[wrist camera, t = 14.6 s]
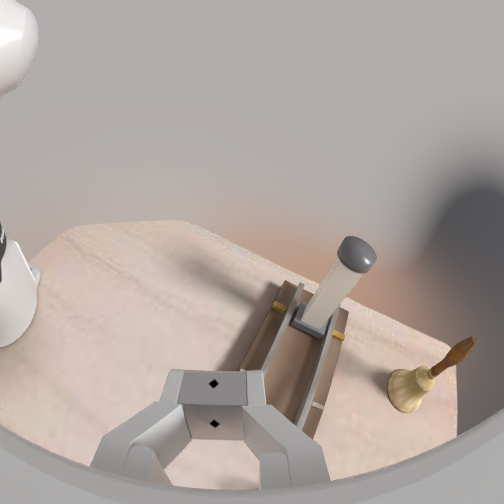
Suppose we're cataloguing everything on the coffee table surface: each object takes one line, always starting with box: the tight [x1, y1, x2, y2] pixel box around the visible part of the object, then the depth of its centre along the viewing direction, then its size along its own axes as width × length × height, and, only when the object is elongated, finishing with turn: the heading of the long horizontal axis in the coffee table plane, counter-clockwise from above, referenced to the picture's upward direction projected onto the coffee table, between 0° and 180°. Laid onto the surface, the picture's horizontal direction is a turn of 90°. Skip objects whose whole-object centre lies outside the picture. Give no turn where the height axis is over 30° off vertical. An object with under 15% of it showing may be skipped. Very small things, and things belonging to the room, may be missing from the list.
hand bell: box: [387, 336, 477, 413], centre depth 30 cm, size 8×8×16 cm
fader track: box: [238, 280, 349, 440], centre depth 35 cm, size 12×24×4 cm, turn 155°
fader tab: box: [291, 236, 377, 339], centre depth 34 cm, size 5×4×15 cm
